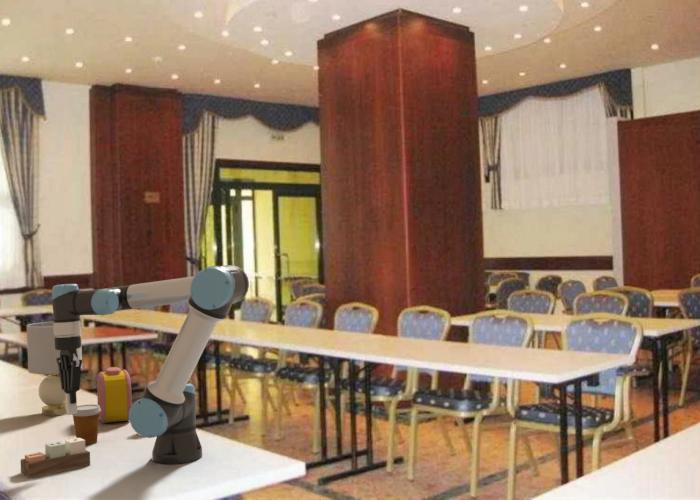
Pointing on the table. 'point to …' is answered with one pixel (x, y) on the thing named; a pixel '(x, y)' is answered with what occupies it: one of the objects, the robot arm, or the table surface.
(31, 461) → the key three
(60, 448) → the key two
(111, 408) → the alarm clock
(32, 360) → the lamp
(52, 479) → the table surface
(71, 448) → the key one
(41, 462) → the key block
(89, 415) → the disposable coffee cup
